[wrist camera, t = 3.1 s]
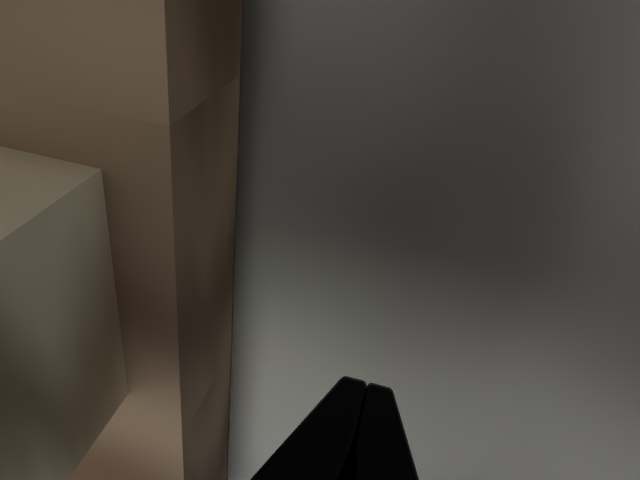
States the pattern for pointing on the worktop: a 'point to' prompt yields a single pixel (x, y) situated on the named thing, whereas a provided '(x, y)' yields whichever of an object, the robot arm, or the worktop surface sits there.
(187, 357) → the brown wooden tray
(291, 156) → the worktop surface
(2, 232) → the birch block
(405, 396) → the worktop surface
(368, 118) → the worktop surface
